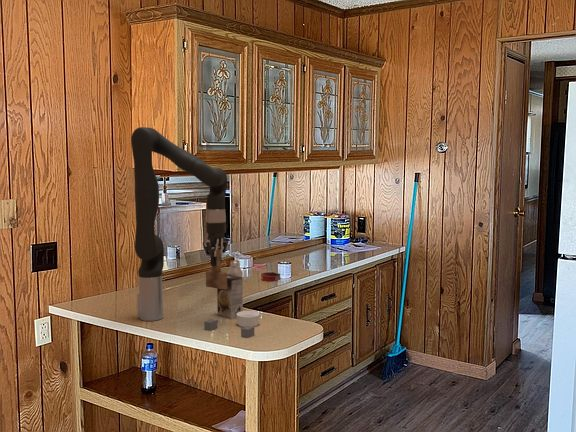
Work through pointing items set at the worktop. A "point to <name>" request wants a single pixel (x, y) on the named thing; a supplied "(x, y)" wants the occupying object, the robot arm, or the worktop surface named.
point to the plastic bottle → (235, 270)
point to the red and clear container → (270, 276)
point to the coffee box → (230, 297)
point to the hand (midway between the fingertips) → (216, 265)
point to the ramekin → (247, 318)
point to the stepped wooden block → (216, 274)
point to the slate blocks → (245, 331)
